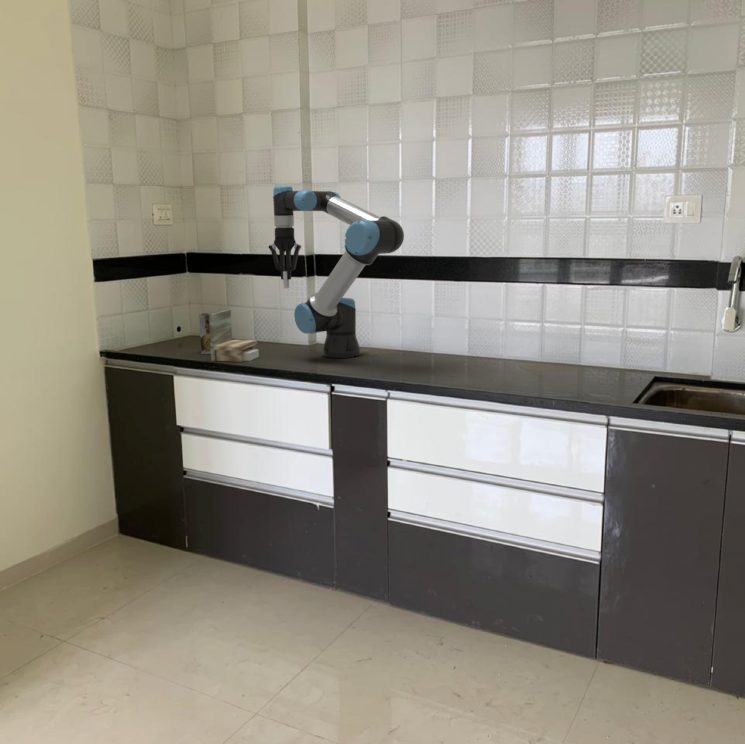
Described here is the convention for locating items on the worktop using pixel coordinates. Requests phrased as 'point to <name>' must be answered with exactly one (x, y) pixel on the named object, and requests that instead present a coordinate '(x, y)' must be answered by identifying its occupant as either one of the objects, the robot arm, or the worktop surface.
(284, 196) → the robot arm
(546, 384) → the worktop surface
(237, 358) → the upright marbled panel
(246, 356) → the flat white block
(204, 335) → the coffee box
